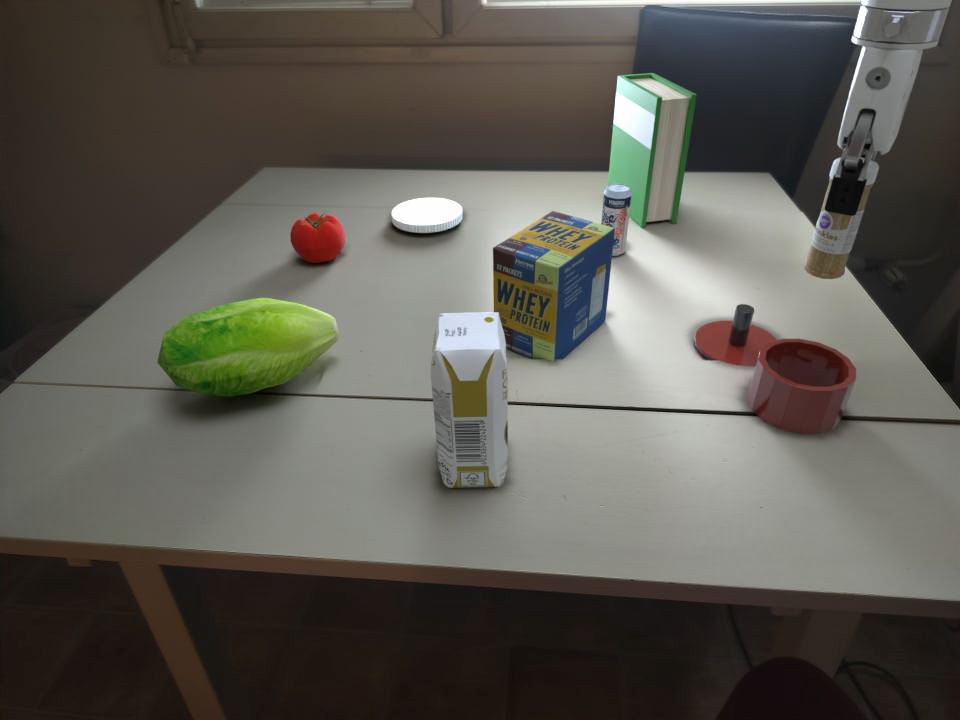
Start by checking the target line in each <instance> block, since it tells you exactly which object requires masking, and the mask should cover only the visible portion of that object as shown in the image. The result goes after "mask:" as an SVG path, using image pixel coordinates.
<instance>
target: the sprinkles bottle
mask: <svg viewBox="0 0 960 720" xmlns="http://www.w3.org/2000/svg"><path fill="white" fill-rule="evenodd" d="M840 159H841V157H838V158H837V157H836V159H834V160H833V162H832V165H831V168H830V171H829V178H828V179H829V180H828V181H829V182H828V186H827V189H826V192H825V195H824V199H823V203H822V206H821V209H820V213H819V216H818V219H817V221H816V225H815V228H814V230H813V235H812V238H811V240H810V241H811V243H810V248H809V251H808V254H807V258H806V261H805V262H804V265H803V269H804V271H805V272H806V273H807V274H808V275H811V276H812V277H815V278H817V279H823V280H835V279H840V278H842V277H843V276H844V275H845V273H846V266H847V264H848V260H849V256H850V254H851V251H852V249H853V246H854V243H855V240H856V238H857V235H858V231H859V227H860V224H861V221H862V218H863V216H864V213H865V209H866V204H867V201H868V199H869V198H868V197H869V196H870V192H871V189H872V187H873V185H874V183H875V182H876V179H877V176H878V173H879V169H880V166H879V164H878V162H876V161H875V160H874V161H872V160H870V163H869V166H868V170H867V173H866V176H865V178H864V179H867V182H866V185H865V188H864V191H863V194H862V198H861V201H860V204H859V207H858V210H857V213H856V214H855V215H854V216H849V215H844V214H838V213H833V212H827V211H826V210H825V205H826V201H827V198H828V194H829V191H830V187H831V184H832V180H833V177H834V175H836V172H837V169H838V165H839V162H840ZM861 159H863V162H864V159H865V158H861Z"/></svg>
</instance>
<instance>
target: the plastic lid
mask: <svg viewBox="0 0 960 720" xmlns="http://www.w3.org/2000/svg"><path fill="white" fill-rule="evenodd" d="M390 215H391V222H392V224H393V226H394V227H395V228H397V229H399V230H401V231H404V232H409V233H418V234H427V233H428V234H430V233H431V234H432V233H438V232H443V231H447V230H448V229H453V228H454V227H456V226H457V225H459V224H460V223H461V222H462V220H463V207H462V206H461V205H460V204H459V203H458V202H456V201H454V200H451V199H447V198H442V197H419V198H413V199H410V200H406V201H403V202H401V203H398V204H397V205H395V206H394V207H393V208H392V209H391V213H390Z"/></svg>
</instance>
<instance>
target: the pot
mask: <svg viewBox="0 0 960 720" xmlns="http://www.w3.org/2000/svg"><path fill="white" fill-rule="evenodd" d="M856 380H857V368H856V366H855V365H854V363H853V362H852V361H851V359H850V358H849V357H847V356H846V355H845V354H844V353H842V352H840V351H839V350H837V349H836V348H834V347H831V346H830V345H826V344H824V343H822V342H818V341H815V340H814V341H813V340H808V339H803V338H779V339H777V340H776V341H772V342H769V343H767V344H766V345H765V346H763V347H762V348H761V349H760V352H759V355H758V359H757V363H756V366H754V371H753V375H752V378H751V382H750V386H749V390H748V394H747V398H746V401H747V402H748V405H749V407H750V409H751V411H752V412H753V413H754V414H755V415H756V416H757V417H758V418H760V419H761V420H762V421H763V422H765V423H767V424H769V425H771V426H773V427H775V428H777V429H779V430H782V431H786V432H790V433H794V434H798V435H820V434H823V433H825V432H829V431H833V430H834V429H835V428H836V427H837V426H838V424H839V423H840V422H841V420H842V418H843V415H844V412H845V409H846V406H847V404H848V402H849V399H850V396H851V393H852V390H853V388H854V385H855V384H856Z"/></svg>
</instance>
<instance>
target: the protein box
mask: <svg viewBox="0 0 960 720" xmlns="http://www.w3.org/2000/svg"><path fill="white" fill-rule="evenodd" d="M614 233H615V228H613V227H609V226H606V225H602V224H601V223H599V222H598V223H597V222H596V221H595V222H594V221H591V220H587V219H584V218H580V217H577V216H573V215H569V214H565V213H562V212H558V211H554V210H551V211H550V212H548V213H547V214H544V216H542V217H541V218H539V219H537V220H536V221H534V222H532V223H530V224H529V225H528V226H526V227H524V228H522V229H521V230H520V231H518V232H516V233H514V234H513V235H511V236H509V237H508V238H507V239H505V240H503V241H502V242H500V243H498V244H497V245H495V246H493V247H492V274H493V275H492V278H493V280H492V283H493V285H492V288H493V289H492V291H493V312H499V318H500V321H501V325H502V328H503V332H504V336H505V341H506V350H510V351H512V352H515V353H517V354H519V355H521V356H524V357H527V358H529V359H532V360H547V361H550V362H556V361H557V360H563V359H564V358H566V356H568V355H569V354H570V353H571V352H572V351H573V350H574V349H575V348H577V347H578V346H579V345H580V344H581V343H582V342H583V341H585V340H586V339H587V338H588V337H589V336H590V335H591V334H593V333H594V331H596V330H597V329H598V328H599V327H600V326H602V324H604V323H605V322H606V319H607V308H608V298H609V291H610V280H611V270H612V261H613V256H612V251H613V242H614Z"/></svg>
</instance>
